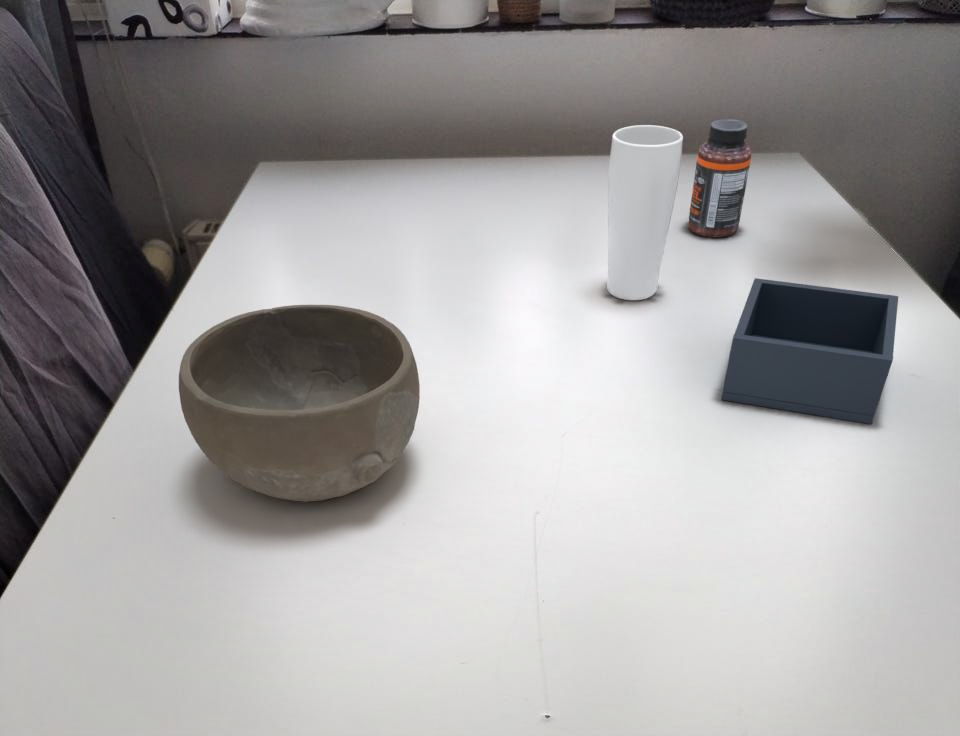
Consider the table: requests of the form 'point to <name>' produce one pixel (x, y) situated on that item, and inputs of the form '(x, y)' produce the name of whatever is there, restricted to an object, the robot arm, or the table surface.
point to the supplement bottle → (720, 180)
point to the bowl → (301, 399)
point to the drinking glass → (640, 206)
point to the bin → (812, 350)
